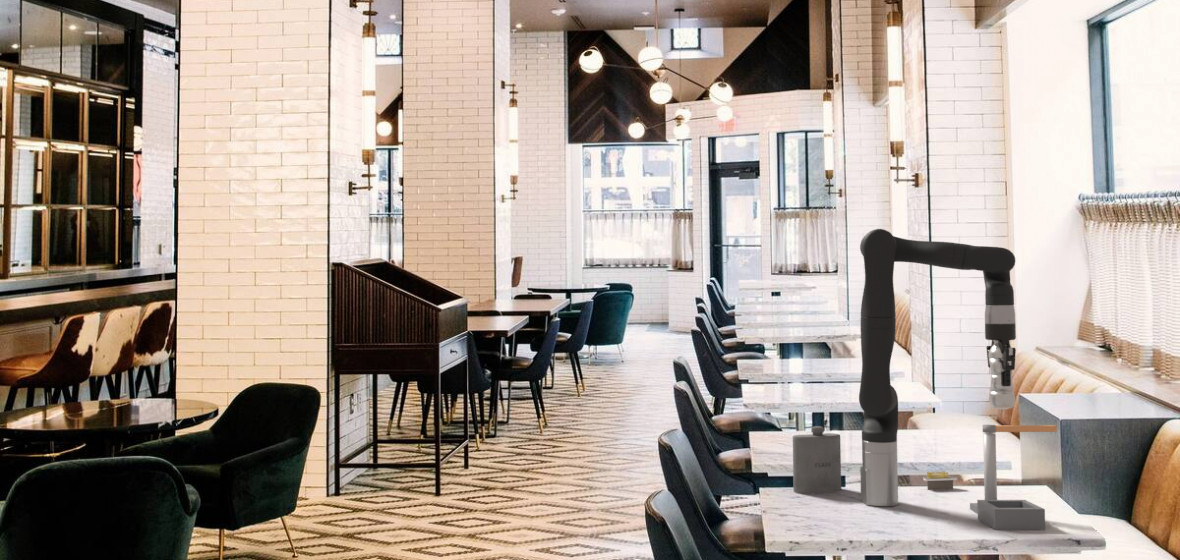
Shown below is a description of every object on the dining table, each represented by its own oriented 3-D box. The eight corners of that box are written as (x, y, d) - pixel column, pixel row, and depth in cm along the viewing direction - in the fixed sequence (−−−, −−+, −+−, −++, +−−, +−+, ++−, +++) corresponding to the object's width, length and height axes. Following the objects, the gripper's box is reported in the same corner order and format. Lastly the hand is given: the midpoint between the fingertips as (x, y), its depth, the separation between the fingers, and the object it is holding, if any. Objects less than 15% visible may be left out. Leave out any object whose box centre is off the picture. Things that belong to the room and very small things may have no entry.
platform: (900, 491, 272) (899, 469, 273) (957, 489, 275) (956, 467, 275) (920, 499, 261) (919, 476, 261) (979, 497, 263) (978, 474, 263)
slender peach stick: (1052, 431, 242) (1052, 424, 242) (1058, 432, 238) (1057, 425, 238) (980, 431, 242) (980, 424, 243) (985, 432, 239) (985, 426, 239)
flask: (800, 499, 260) (799, 429, 261) (790, 495, 266) (789, 426, 267) (846, 496, 265) (845, 426, 266) (835, 492, 270) (834, 424, 271)
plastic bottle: (1014, 408, 247) (1012, 334, 248) (1016, 411, 241) (1015, 335, 241) (988, 407, 249) (986, 334, 250) (990, 410, 243) (988, 335, 243)
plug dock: (995, 529, 223) (993, 443, 224) (962, 510, 244) (960, 431, 245) (1045, 529, 222) (1043, 443, 223) (1007, 510, 244) (1006, 431, 245)
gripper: (1025, 322, 238) (1027, 387, 238) (1003, 321, 253) (1005, 383, 252) (996, 322, 239) (997, 387, 238) (975, 322, 253) (977, 383, 252)
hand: (1001, 385), depth 245 cm, fingers closed on plastic bottle, 5 cm apart
